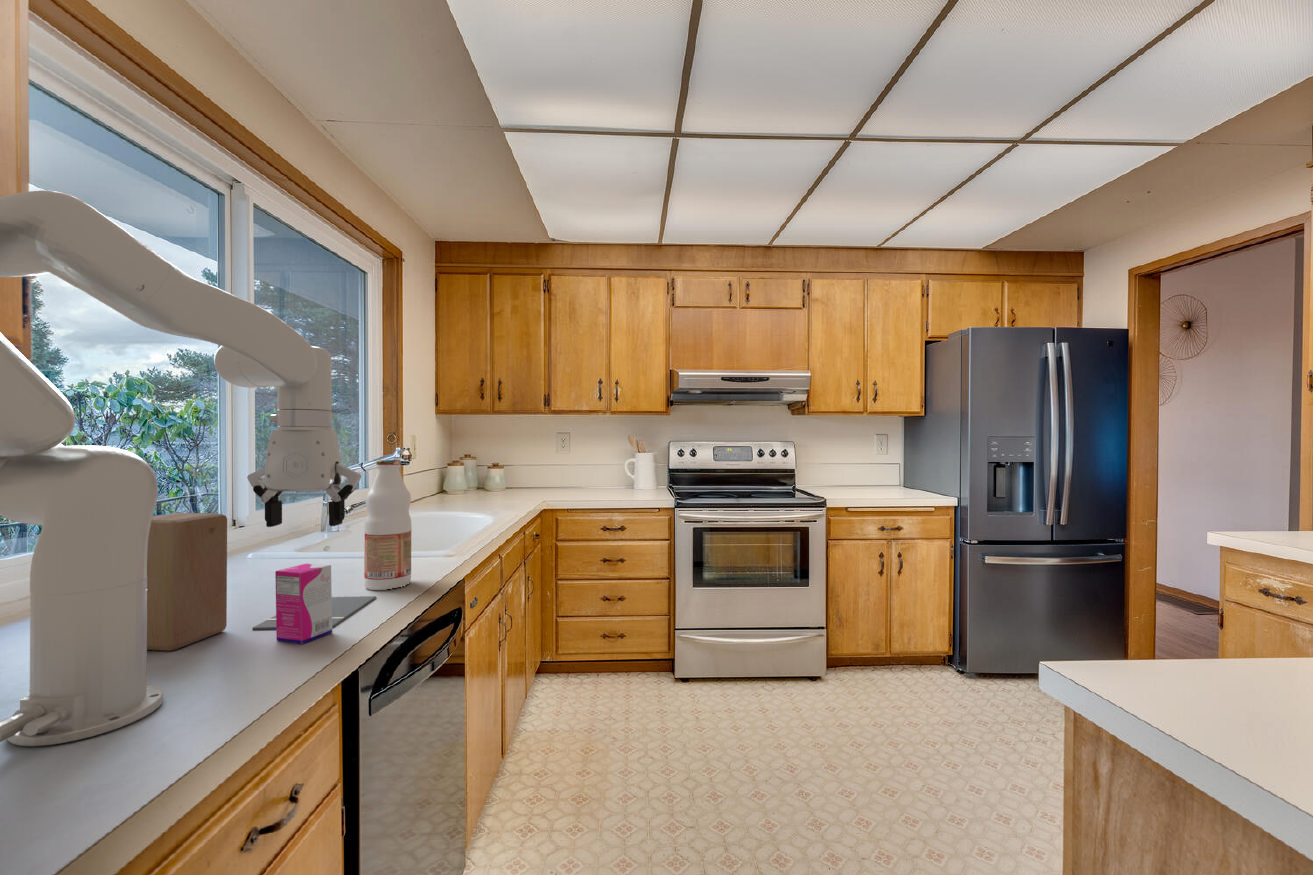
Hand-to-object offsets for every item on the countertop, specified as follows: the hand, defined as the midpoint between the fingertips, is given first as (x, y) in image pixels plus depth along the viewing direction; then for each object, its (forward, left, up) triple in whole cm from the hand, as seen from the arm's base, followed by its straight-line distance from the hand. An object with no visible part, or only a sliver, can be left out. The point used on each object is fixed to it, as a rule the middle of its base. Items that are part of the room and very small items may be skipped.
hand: (305, 525), depth 91 cm
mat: (+13, +4, -18) cm, 23 cm away
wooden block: (0, +20, -19) cm, 27 cm away
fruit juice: (+32, -1, -19) cm, 37 cm away
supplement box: (0, 0, -19) cm, 19 cm away
